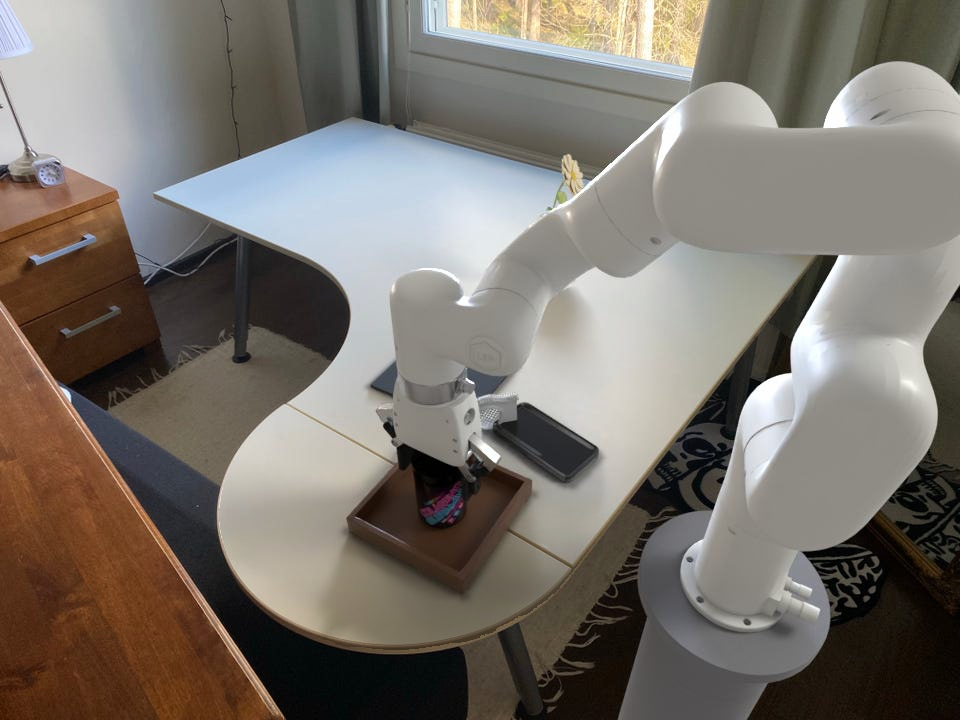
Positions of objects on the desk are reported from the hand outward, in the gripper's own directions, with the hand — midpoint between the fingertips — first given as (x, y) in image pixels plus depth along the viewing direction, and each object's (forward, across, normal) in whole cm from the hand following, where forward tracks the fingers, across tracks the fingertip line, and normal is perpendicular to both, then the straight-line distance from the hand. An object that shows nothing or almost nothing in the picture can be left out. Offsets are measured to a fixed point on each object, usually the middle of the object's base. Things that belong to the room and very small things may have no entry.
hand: (439, 477), depth 84 cm
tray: (+7, 0, 0) cm, 7 cm away
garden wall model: (+7, +4, -16) cm, 18 cm away
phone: (+7, -6, -18) cm, 20 cm away
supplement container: (+7, 0, 0) cm, 7 cm away
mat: (+7, +15, -23) cm, 28 cm away
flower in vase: (+7, +13, -58) cm, 60 cm away
